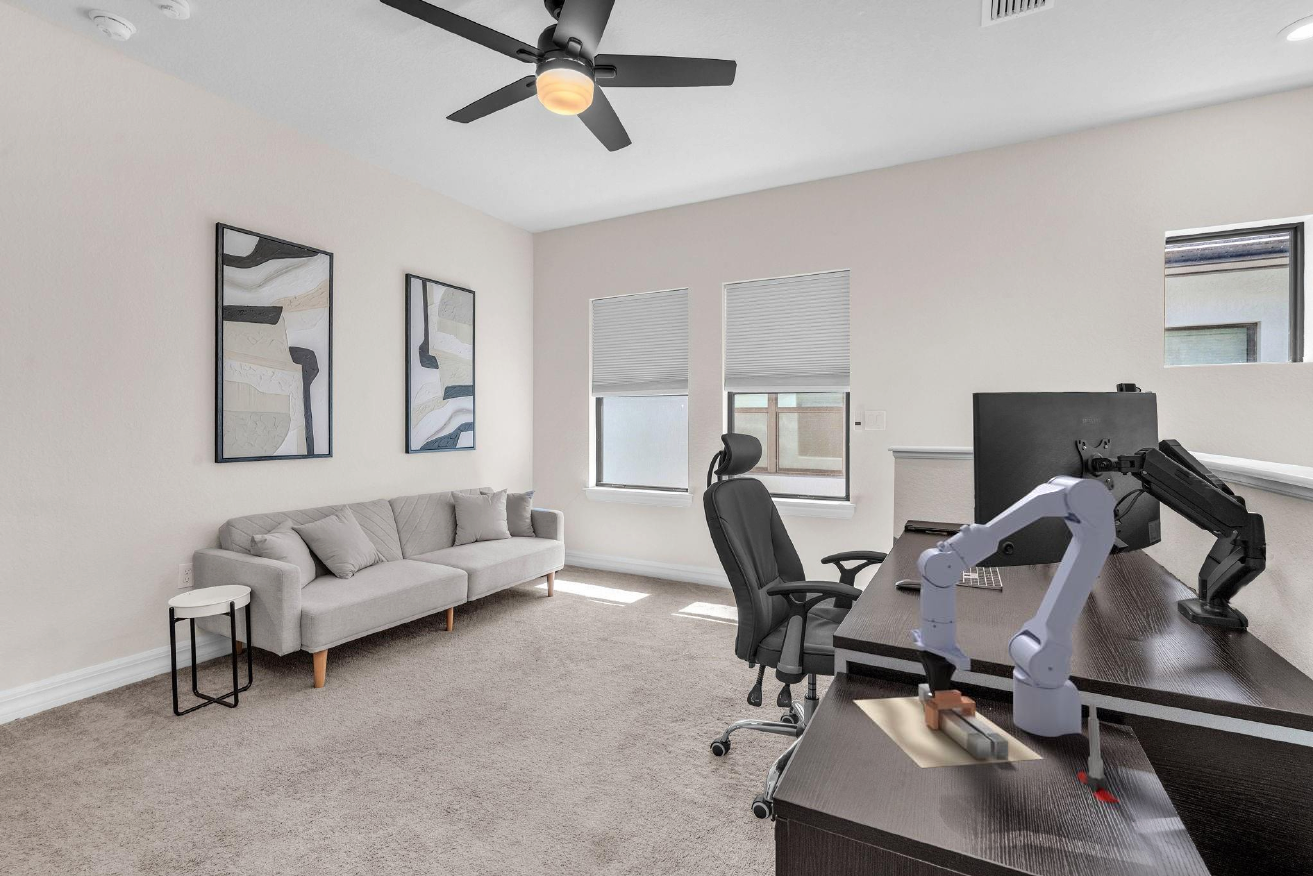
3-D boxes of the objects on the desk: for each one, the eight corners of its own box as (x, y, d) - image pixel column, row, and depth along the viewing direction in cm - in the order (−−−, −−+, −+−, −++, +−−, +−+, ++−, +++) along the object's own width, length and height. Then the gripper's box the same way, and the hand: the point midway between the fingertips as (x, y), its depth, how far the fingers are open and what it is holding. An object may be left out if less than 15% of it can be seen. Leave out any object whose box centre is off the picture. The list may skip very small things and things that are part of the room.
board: (952, 699, 112) (952, 694, 112) (1043, 765, 90) (1043, 758, 90) (853, 705, 110) (853, 700, 110) (921, 774, 87) (921, 767, 87)
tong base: (928, 698, 111) (928, 681, 111) (1008, 759, 90) (1008, 738, 90) (909, 699, 110) (909, 682, 110) (984, 761, 89) (984, 740, 89)
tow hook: (1054, 816, 79) (1125, 814, 78) (1048, 719, 79) (1120, 717, 78) (1018, 779, 87) (1083, 778, 87) (1014, 692, 87) (1078, 691, 87)
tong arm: (936, 714, 103) (936, 700, 103) (990, 758, 89) (990, 741, 89) (925, 715, 103) (925, 700, 103) (977, 759, 89) (977, 741, 89)
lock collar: (966, 719, 102) (966, 689, 102) (975, 726, 99) (975, 695, 99) (925, 722, 101) (925, 691, 101) (933, 729, 98) (933, 697, 98)
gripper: (895, 607, 110) (895, 679, 110) (942, 632, 96) (942, 716, 96) (930, 605, 111) (930, 677, 111) (982, 631, 96) (982, 713, 96)
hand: (938, 695), depth 103 cm, fingers closed
